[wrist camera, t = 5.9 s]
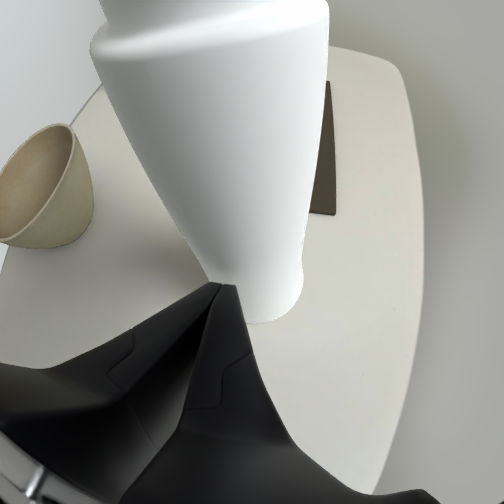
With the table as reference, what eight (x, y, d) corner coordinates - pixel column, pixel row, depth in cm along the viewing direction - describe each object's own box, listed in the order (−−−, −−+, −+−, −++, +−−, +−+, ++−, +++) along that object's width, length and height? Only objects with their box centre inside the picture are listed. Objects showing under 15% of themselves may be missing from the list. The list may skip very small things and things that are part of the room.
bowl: (59, 295, 18) (-4, 271, 11) (28, 224, 21) (-18, 192, 14) (138, 209, 20) (92, 154, 13) (92, 154, 23) (56, 108, 16)
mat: (335, 215, 19) (336, 213, 18) (197, 202, 20) (196, 199, 19) (329, 83, 24) (329, 81, 24) (235, 76, 25) (234, 74, 25)
